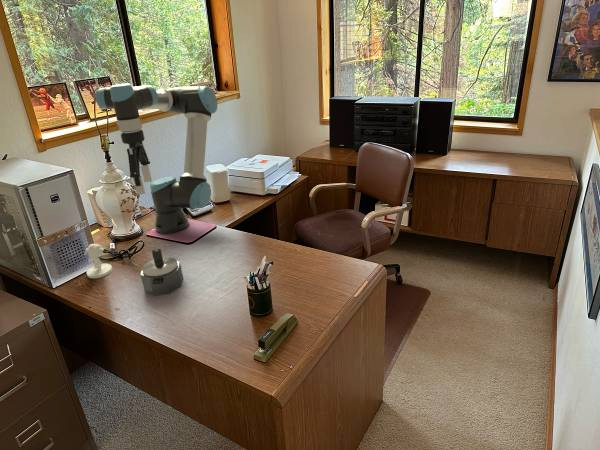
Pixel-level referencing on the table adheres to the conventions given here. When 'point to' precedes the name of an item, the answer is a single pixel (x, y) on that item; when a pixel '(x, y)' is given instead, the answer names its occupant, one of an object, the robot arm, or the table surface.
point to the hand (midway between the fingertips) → (144, 187)
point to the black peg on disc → (159, 265)
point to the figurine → (97, 262)
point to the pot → (163, 282)
